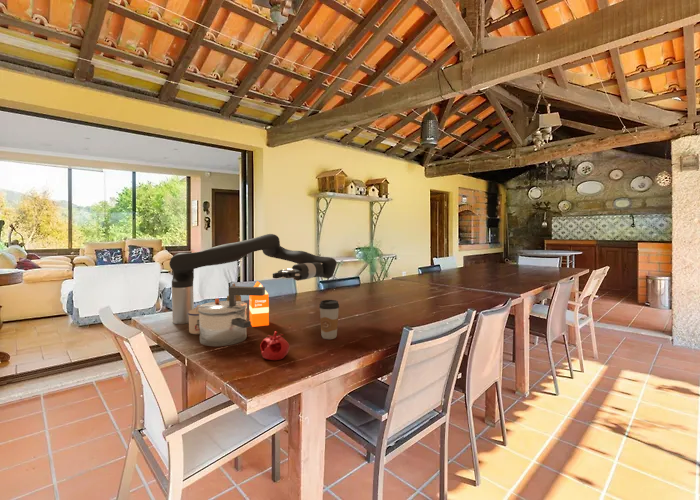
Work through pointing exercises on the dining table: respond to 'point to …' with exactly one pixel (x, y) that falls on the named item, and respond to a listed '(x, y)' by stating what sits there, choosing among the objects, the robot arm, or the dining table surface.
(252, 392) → the dining table surface
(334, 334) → the coffee cup
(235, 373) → the dining table surface
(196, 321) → the teacup with lid
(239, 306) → the cooker lid
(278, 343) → the pomegranate
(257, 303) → the orange juice
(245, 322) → the cooker pot
